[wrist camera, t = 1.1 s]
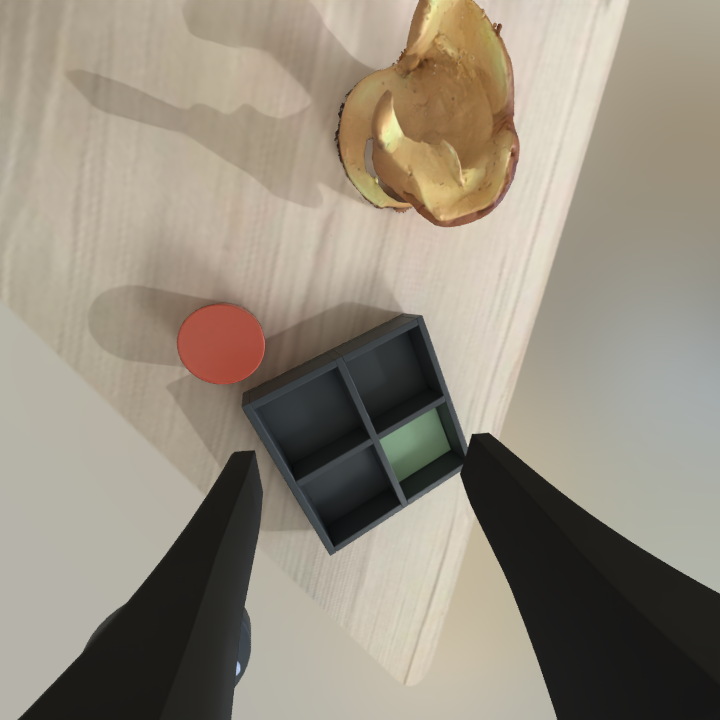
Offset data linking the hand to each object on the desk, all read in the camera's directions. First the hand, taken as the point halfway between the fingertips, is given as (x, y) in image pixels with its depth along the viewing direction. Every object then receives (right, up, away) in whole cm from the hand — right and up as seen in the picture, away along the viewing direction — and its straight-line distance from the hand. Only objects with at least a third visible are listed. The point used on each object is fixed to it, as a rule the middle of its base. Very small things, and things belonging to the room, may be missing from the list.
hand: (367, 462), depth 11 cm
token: (-9, +5, +9) cm, 14 cm away
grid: (0, -1, +13) cm, 14 cm away
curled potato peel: (+2, +18, +10) cm, 21 cm away
